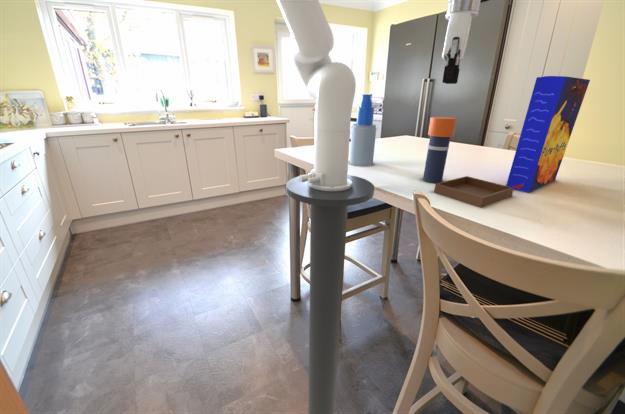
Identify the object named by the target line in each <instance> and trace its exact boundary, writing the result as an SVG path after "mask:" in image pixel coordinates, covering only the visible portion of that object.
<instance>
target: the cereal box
mask: <svg viewBox="0 0 625 414" xmlns="http://www.w3.org/2000/svg"><path fill="white" fill-rule="evenodd" d="M590 81H591V79H587V78H580V77H572V76H567V75H566V76H562V75H546V76H538V77H536V79H535V81H534V82H535V83H534V86H533V89H532V93H531V95H530V96H531V97H530V99H529V103H528V107H527V110H526V114H525V117H524V121H523V125H522V128H521V131H520V136H519V139H518V141H517V142H518V143H517V146H516V150H515V153H514V156H513V160H512V164H511V167H510V171H509V174H508V178H507V181H506V184H505V186H508V187H512V188H514V190H513V191H518V192H523V193H527V194H530V193H533V192H535V191H536V190H538V189H540V188H542V187H544V186H547V185H549V184H551V183H553V182H555V181H556V179H557V176H558V173H559V170H560V167H561V165H562V161H563V159H564V157H565V153H566V150H567V147H568V144H569V141H570V139H571V136H572V133H573V131H574V127H575V124H576V121H577V119H578V116H579V114H580V110H581V107H582V104H583V101H584V98H585V96H586V93H587V90H588V87H589V84H590Z"/></svg>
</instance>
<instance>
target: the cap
mask: <svg viewBox="0 0 625 414" xmlns="http://www.w3.org/2000/svg"><path fill="white" fill-rule="evenodd" d="M457 120H458V119H457V117H450V116H431V117H430V119H429V125H428V132H427V135H428V136H429V137H430V136H436V137H450V138H452V137H454V135H455V130H456V124H457Z"/></svg>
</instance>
